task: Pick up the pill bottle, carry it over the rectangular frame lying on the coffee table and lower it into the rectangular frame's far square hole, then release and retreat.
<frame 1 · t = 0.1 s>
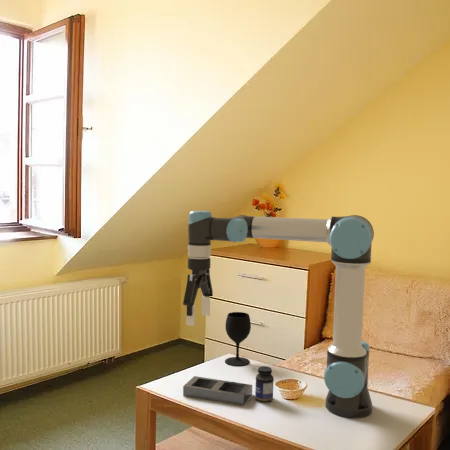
hand: (198, 320, 176), 28 cm above the table, fingers open, 13 cm apart
pill bottle: (264, 400, 180), on the table
wine glass: (237, 362, 217), on the table
rectangular frame: (217, 395, 183), on the table
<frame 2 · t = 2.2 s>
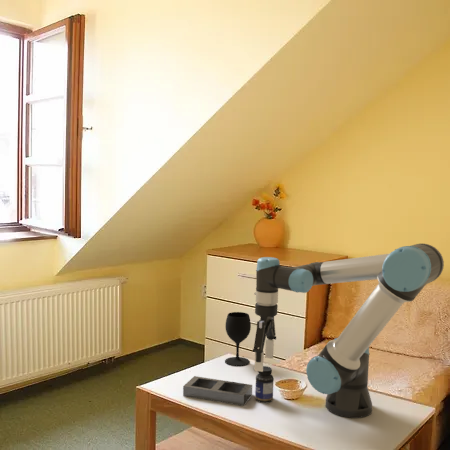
hand: (264, 364, 179), 12 cm above the table, fingers open, 13 cm apart
nothing on the table moved.
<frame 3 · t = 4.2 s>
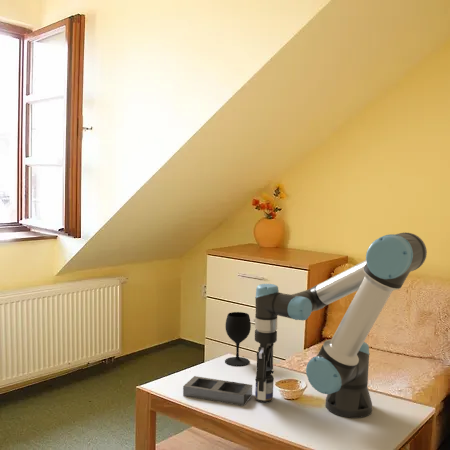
hand: (264, 395, 180), 1 cm above the table, fingers closed on pill bottle, 6 cm apart
pill bottle: (264, 400, 180), on the table, touching gripper
everything else where it was.
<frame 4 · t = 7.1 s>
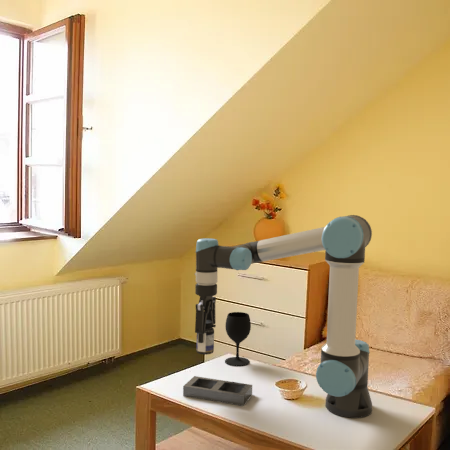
hand: (205, 348, 183), 16 cm above the table, fingers closed on pill bottle, 6 cm apart
pill bottle: (205, 352, 183), point 15 cm above the table, touching gripper
everything else where it was.
when the fingers open (4 cm above the table, at t = 9.9 s): pill bottle drops 2 cm, resting in rectangular frame.
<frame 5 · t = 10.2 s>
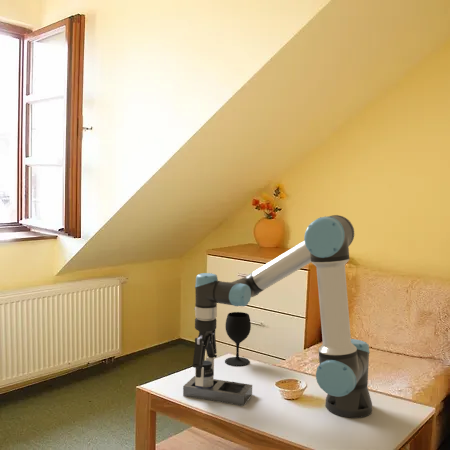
hand: (204, 380, 184), 5 cm above the table, fingers open, 9 cm apart
pill bottle: (204, 393, 184), resting in rectangular frame
everything else where it was.
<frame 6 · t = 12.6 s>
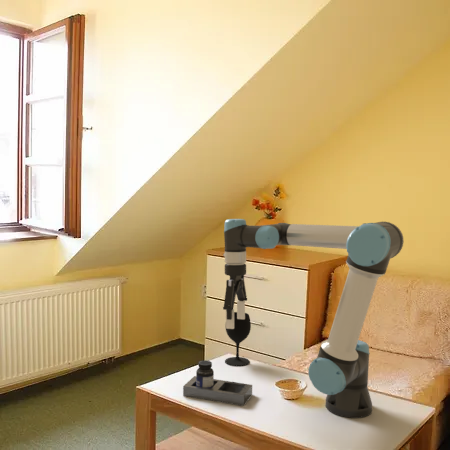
hand: (235, 323, 183), 25 cm above the table, fingers open, 13 cm apart
nothing on the table moved.
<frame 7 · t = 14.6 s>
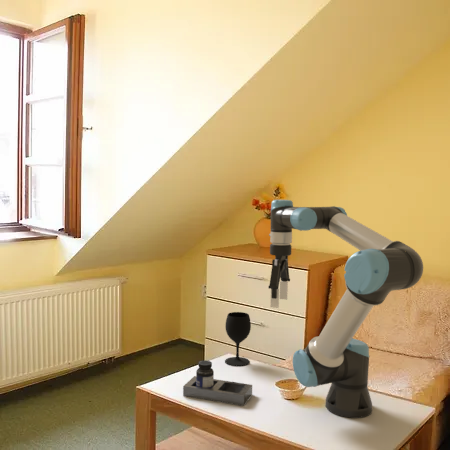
hand: (279, 303, 186), 32 cm above the table, fingers open, 13 cm apart
nothing on the table moved.
at the end: pill bottle 0.0 cm from the target spot on the rectangular frame, point 0.0 cm above the rectangular frame's base; pill bottle tilted 0°; the gripper is holding nothing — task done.
